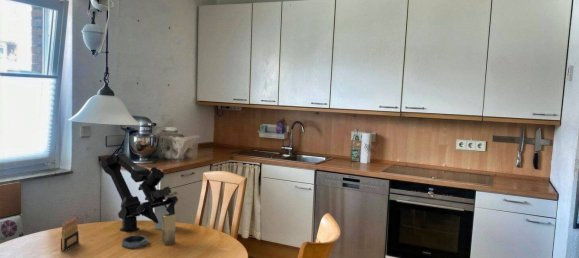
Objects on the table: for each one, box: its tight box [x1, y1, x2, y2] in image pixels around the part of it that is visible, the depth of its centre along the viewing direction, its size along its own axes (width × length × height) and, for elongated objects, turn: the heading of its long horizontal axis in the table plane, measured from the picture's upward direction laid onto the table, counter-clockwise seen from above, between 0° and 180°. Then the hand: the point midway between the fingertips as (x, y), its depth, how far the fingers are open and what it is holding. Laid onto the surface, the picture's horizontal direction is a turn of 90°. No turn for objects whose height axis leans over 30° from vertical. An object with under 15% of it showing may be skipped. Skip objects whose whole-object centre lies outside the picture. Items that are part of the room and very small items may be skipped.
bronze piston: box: [161, 213, 177, 246], centre depth 188 cm, size 6×6×12 cm
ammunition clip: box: [60, 215, 80, 251], centre depth 181 cm, size 11×2×12 cm, turn 178°
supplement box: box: [153, 199, 176, 230], centre depth 210 cm, size 7×7×13 cm
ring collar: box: [121, 234, 149, 250], centre depth 186 cm, size 11×11×2 cm
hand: (166, 220), depth 189 cm, fingers open, 9 cm apart
